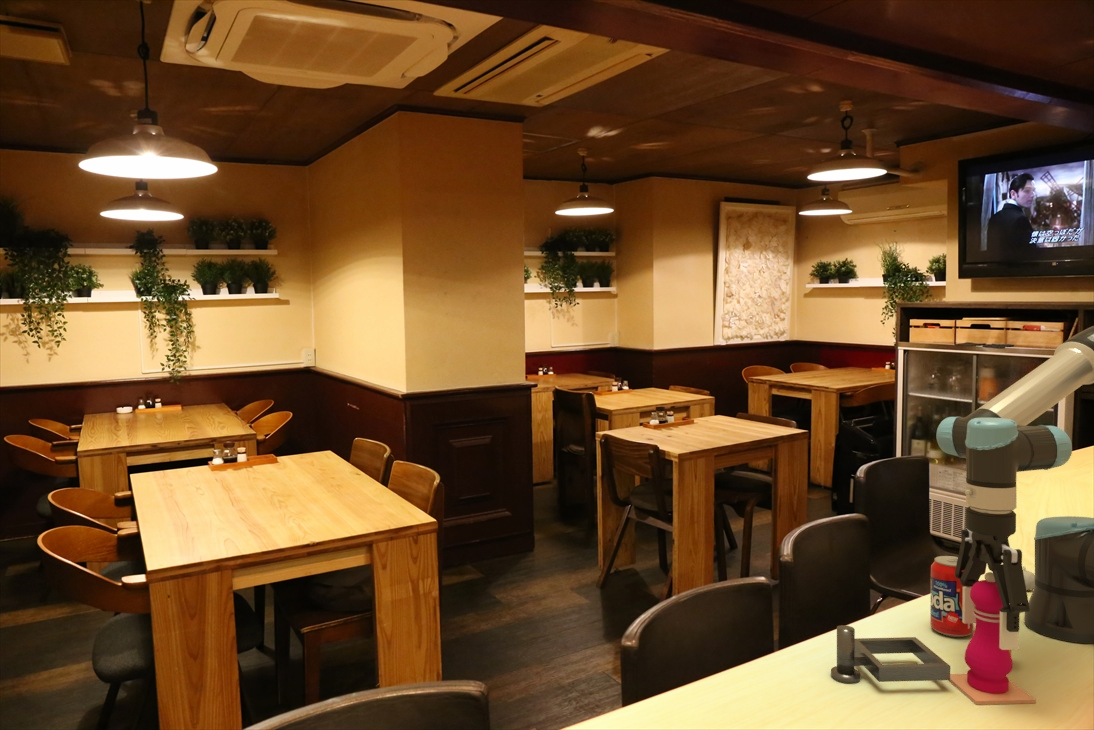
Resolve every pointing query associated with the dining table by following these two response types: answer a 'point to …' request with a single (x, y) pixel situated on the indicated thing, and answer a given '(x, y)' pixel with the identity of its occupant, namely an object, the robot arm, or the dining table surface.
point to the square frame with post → (862, 655)
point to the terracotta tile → (984, 698)
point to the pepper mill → (987, 641)
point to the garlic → (1029, 579)
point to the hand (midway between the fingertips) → (989, 635)
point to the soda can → (947, 599)
